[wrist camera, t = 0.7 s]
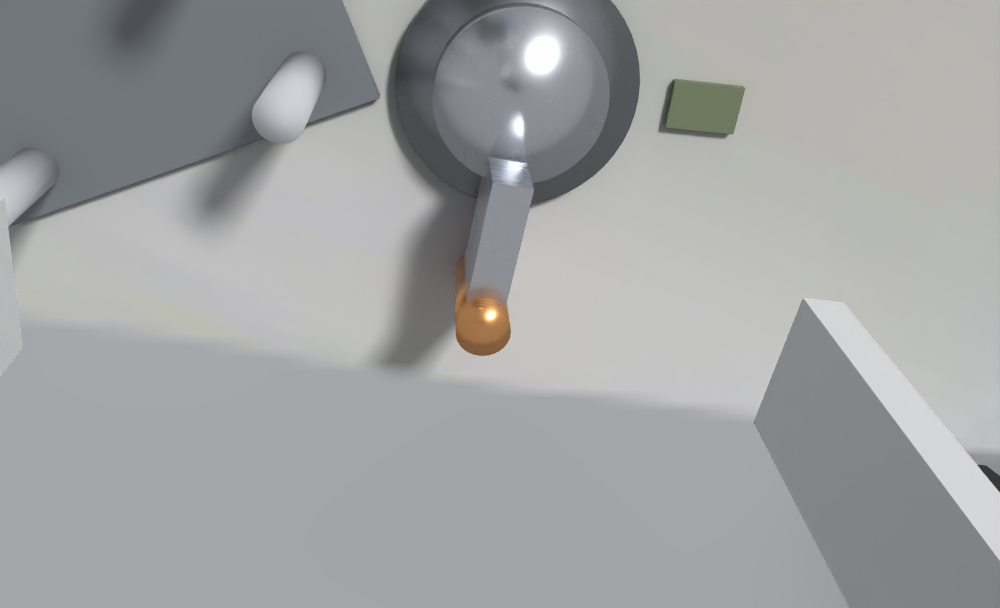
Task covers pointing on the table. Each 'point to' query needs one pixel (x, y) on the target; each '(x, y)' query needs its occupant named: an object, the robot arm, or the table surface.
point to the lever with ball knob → (512, 139)
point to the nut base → (610, 34)
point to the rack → (159, 87)
